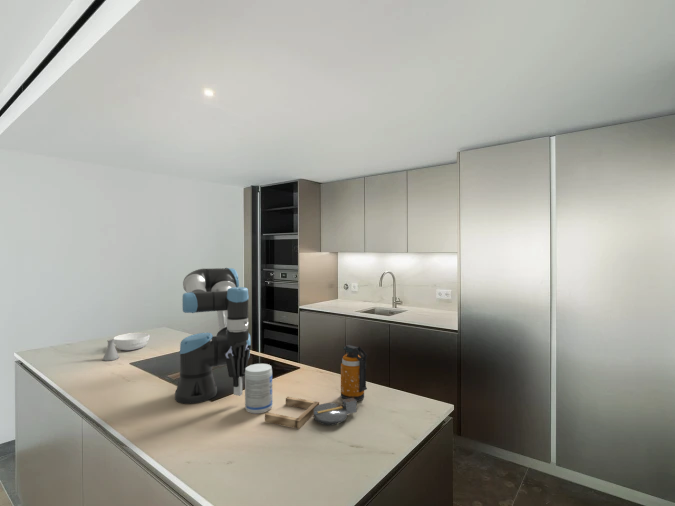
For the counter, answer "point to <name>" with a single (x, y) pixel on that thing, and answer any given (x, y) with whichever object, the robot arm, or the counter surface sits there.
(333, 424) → the turntable base
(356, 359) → the canister
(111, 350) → the flask
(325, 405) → the turntable
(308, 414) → the brown piece
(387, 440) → the counter surface
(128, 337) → the bowl
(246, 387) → the supplement tub
